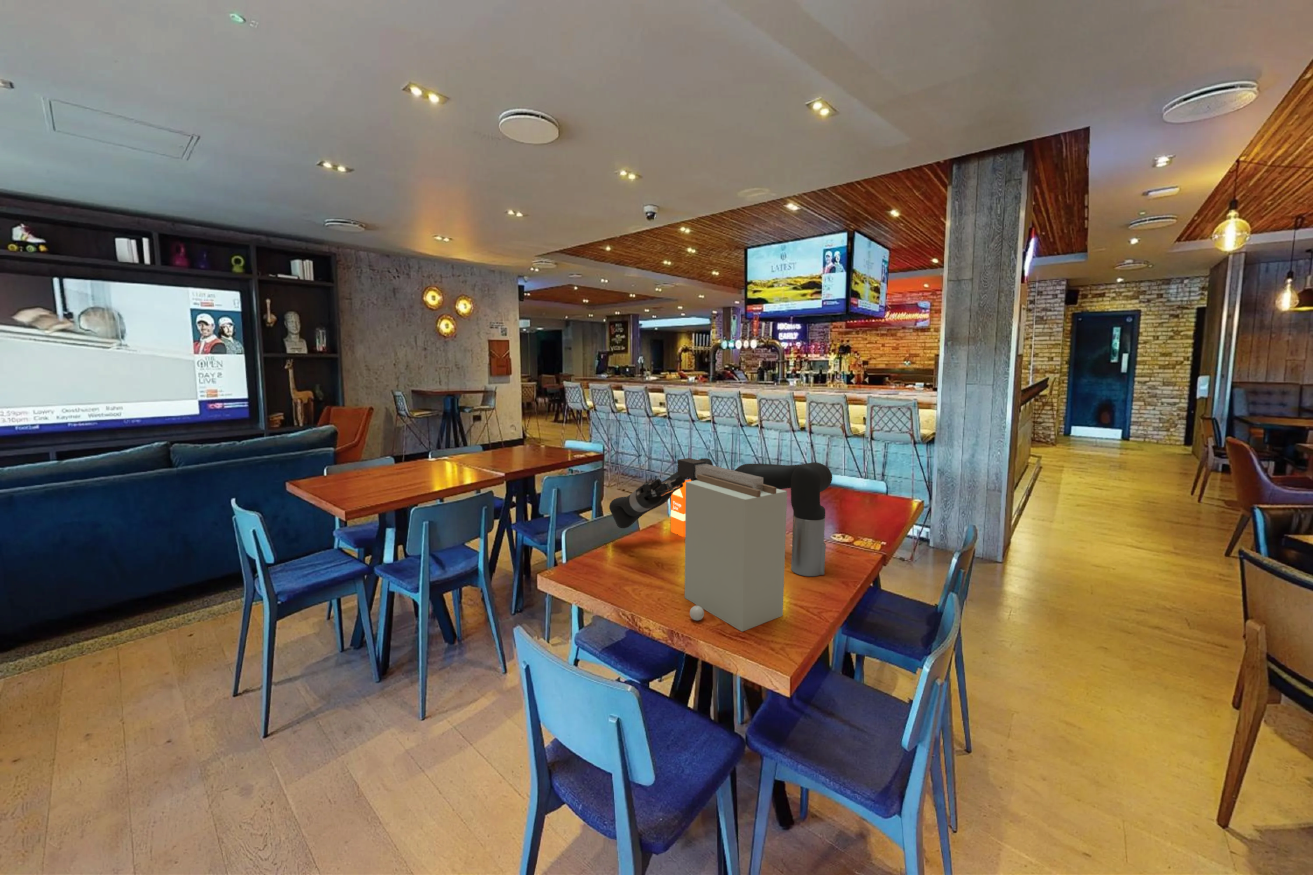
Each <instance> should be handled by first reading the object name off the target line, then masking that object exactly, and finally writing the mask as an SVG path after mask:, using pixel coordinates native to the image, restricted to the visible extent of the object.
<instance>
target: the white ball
mask: <svg viewBox="0 0 1313 875" xmlns="http://www.w3.org/2000/svg"><path fill="white" fill-rule="evenodd" d="M689 616H690V618H691V619H692V620H693V621H702V619H703V618H704V616H705V610H704V609H703V608H702V607H700V606H698V605H694V606H692V607H691V608H690V610H689Z"/></svg>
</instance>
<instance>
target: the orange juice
mask: <svg viewBox="0 0 1313 875" xmlns="http://www.w3.org/2000/svg"><path fill="white" fill-rule="evenodd" d="M689 481H691V479H687V480H686V479H685V482H684V483H683V487H682V488H680V489H678V490H676V491H675V492H673V494H672V495H671V497H670V532H671V533H672V534H673V533H674V534H675V535H677V534H678V535H677V536H680V537H681V538H685V509H686V482H689Z"/></svg>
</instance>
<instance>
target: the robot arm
mask: <svg viewBox="0 0 1313 875" xmlns="http://www.w3.org/2000/svg"><path fill="white" fill-rule="evenodd" d="M698 460H700V461H705V462H706V464H709V465H713V466H714V463H713V460H711V459H710V458H699V459H698ZM734 471H738V472H742V473H746V474H750V475H755V476H759V477H763V484H765V485H769V486H773V487H776V489H780V490H786V489H790V503H791V504H790V505H791V508H792V510H793V515H792V540H791V542H792V543H791V563H790V564H791V565H790V566H791V571H792V572H793V573H795V574H796V575H800V576H803V577H804V576H805V577H817V576H824V575H825V569H826V567H825V566H826V564H825V563H826V547H827V546H826V543H825V529H826V528H825V527H826V508H825V507H824V506H823V505H821V493H823V491H826V489H828V488H829V487H830V486H831V484H832V482H833V474H832V471H831V470H830V468H829V467H828V466H827V465H825V464H823V463H821V462H815V461H814V462H808V463H800V464H789V465H788V464H787V465H786V464H774V463H772V464H771V463H744V464H743V463H742V464H741V465H739V466H737V468H735V469H734ZM686 479H687V480H688V478H686V477H683V476H679V475H677V471H676V472H674V473H673V474H672V475H670V476H669V477H667V478H665V479H664V480H661V478H658V479H655V480H654V481H648V482H645V483H644V484H642V485H641V486H639V487H638V488H637V489H635V490H634V491H633V492H632V493H630V494H629V495H628V496H620V497H619V496H618V497H616V498H614V499H613V500H611V502H610V503H609V509H608V510H609V511H610V513H611V516H612V518H613V519H614V522H615V524H616V526H617V527H618V528H619V529H627V528H629V527H631V526H632V525H633V524H634V523H635V522H636V521H637V520H638V519H640V518H641V517H642V516H644V515H645V514H646V513H648V512H650V511H653V510H654V509H656V508H659V507H660V506H662V505H664V504H665V503H667V502H668V501H669V499H671V495H672V494H673V492H675V491H676V490H678V489H680V488H682V487H683V483H684V482H685V480H686ZM690 480H691V481H695V480H697V479H690Z"/></svg>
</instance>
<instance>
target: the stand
mask: <svg viewBox="0 0 1313 875" xmlns="http://www.w3.org/2000/svg"><path fill="white" fill-rule="evenodd" d="M787 502H788V491H787V490H785V489H776V487H773V486H769V485H765V484H763V492H761V490H757V489H754V488H750V487H746V486H742V485H739V484H735V483H731V482H727V481H724V480H720V479H716V478H713V477H709V476H705V475H701V474H698V475H697V480H695V481H689V482H686V509H685V537H684V541H685V542H684V599H686V600H688V601H689V602H691V603H693V604H694V605H695V606H700V607H702V609H703V610H704V611H706V612H708V613H710V614H711V615H713V616H715V617H716V618H719V619H720V620H722V622H723V621H724V622H725V623H727V624H729V625H730V626H732V627H734V628H735V629H736V630H738V631H740V632H742V633H743V632H744V631H745V632H746V631H747V630H750V629H752V628H755V627H757V626H760V625H763V624H765V623H767V622H771V621H774V620H775V619H777V618H780V617H782V616H783V615H784V614H783V613H784V591H785V590H784V587H785V563H786V560H785V559H786V538H787V537H786V536H787V535H786V534H787V533H786V532H787V504H788V503H787Z"/></svg>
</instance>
